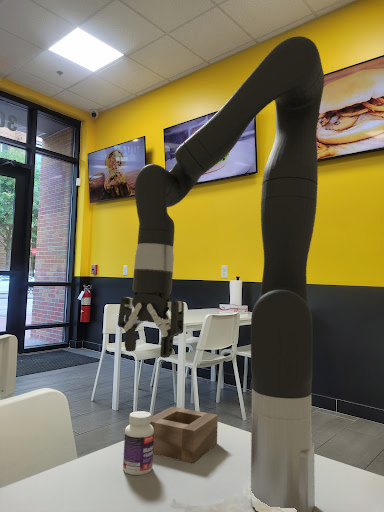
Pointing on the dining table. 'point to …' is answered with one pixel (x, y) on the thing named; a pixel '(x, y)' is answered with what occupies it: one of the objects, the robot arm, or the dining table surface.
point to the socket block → (184, 433)
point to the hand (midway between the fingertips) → (147, 354)
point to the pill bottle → (138, 444)
